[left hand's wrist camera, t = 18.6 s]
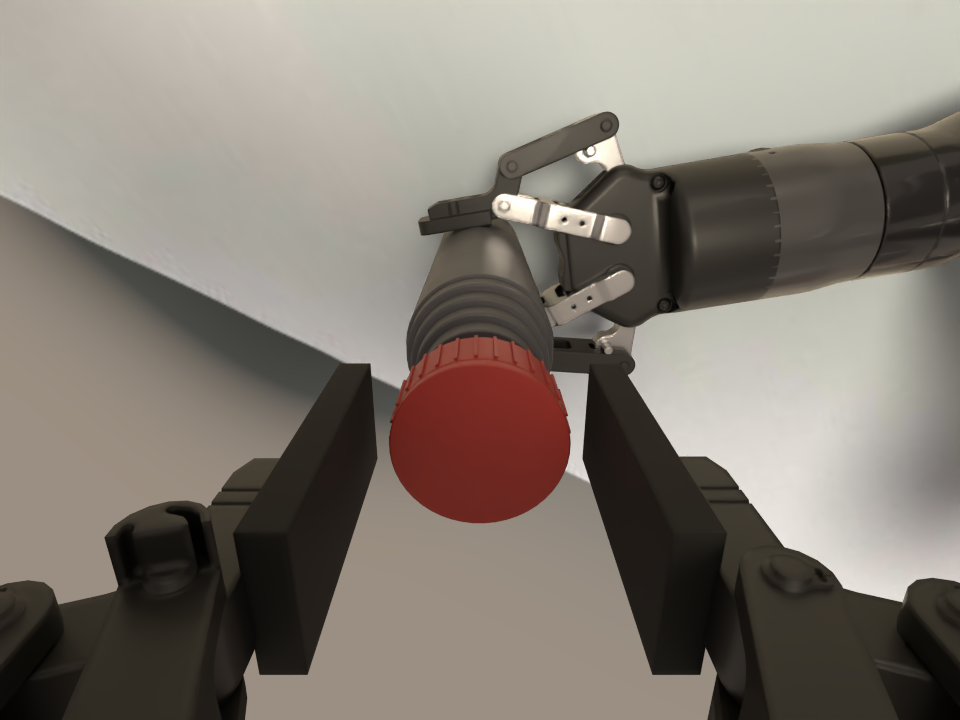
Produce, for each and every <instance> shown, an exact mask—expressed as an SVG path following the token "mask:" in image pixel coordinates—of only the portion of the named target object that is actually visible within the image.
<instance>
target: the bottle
mask: <svg viewBox="0 0 960 720" xmlns="http://www.w3.org/2000/svg"><path fill="white" fill-rule="evenodd" d="M474 335H478V337H487V338H493V336H496V337H497V339H500V340H504V341H507V342H510V343H511V341H513V342H515V345H517V346H519V347H521V348H523V349H525V350H526V351H527V349H529V350H530V351H531V354H532V355H533V356H534V357H536V358H537V359H538V360H539V361H541V360H542V361H543V362H544V365H545V368H546V369H547V371H548V372H549V373H550V370H551V366H552V361H553V344H554V341H553V332H552V327H551V323H550V321H549V318H548V315H547V313H546V310H545V308H544V305H543V303H542V300H541V297H540V295H539V292H538V290H537V287H536V284H535V282H534V279H533V277H532V274H531V272H530V269H529V266H528V264H527V261H526V259H525V256H524V254H523V251H522V248H521V246H520V243H519V241H518V238H517V235H516V233H515V231H514V229H513V228H512V226H511V225H510V224H509V223H508V222H507V221H506V220H505V219H501V218H499V219H493V220H492V225H486V226H480V227H472V228H468V229H461V230H455V231H449V232H445V234H444V236H443V239H442V241H441V244H440V246H439V249H438V251H437V254H436V257H435V259H434V262H433V264H432V267H431V269H430V272H429V275H428V277H427V280H426V282H425V285H424V287H423V290H422V292H421V295H420V298H419V300H418V303H417V305H416V308H415V310H414V313H413V315H412V318H411V321H410V323H409V327H408V331H407V340H406V343H407V361H408V367H409V370H410V371H411V368H412V366H413V365H414V366H416V365H417V364H418V363H419V362H420V361H421V360H422V359H423V356H424V354H425V353H427V355H428V354H429V353H431V352H432V351H433V350H435V349H437V348H438V346H439V345H440V344H442V345H445V344H447V343H450V342H453V341H456V338H460V339H464V338H473V337H474Z"/></svg>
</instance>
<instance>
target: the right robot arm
mask: <svg viewBox="0 0 960 720" xmlns="http://www.w3.org/2000/svg"><path fill="white" fill-rule="evenodd" d="M618 128H619V121H618V118H617V117H616V115H615V114H613V113H611V112H603V113H598V114H594V115H592V116H589V117H587V118H585V119H583V120H580V121H578V122H576V123H573V124H571V125H569V126H567V127H564V128H562V129H560V130H557V131H555V132H553V133H551V134H548V135H546V136H544V137H541V138H539V139H537V140H535V141H532V142H530V143H528V144H525V145H523V146H521V147H519V148H516V149H514V150H512V151H509V152H507V153H505V154H503V155H502V156H501V157H500V159H499V162H498V169H497V174H496V179H495V183H494V186H493V187H492V189H491V190H490V191H488V192H487V193H484V194H479V195H473V196H467V197H461V198H456V199H450V200H444V201H438V202H437V203H435V204H434V205H432V206H431V207H430V208H429V209H428V213H429V216H427V217H423V218H421V219H420V220H419V221H418V223H419V228H420V233H421V235H431V234H437V233H443V232H449V231H455V230H461V229H468V228H472V227H480V226H486V225H492V220H493V219H499V218H501V219H506V220H511V221H516V222H520V223H525V224H530V225H534V226H537V227H540V228H544V229H549V230H553V232H554V240H555V243H556V246H557V248H558V251H559V253H560V259H559V266H558V275H559V282H558V283H557V284H555V285H553V286H551V287H549V288H548V289H546V290H544V291H543V292H542V293H541V294H540V297H541V300H542V303H543V305H544V308H545V310H546V313H547V315H548V318H549V321H550V323H551V327H554V326H561V325H564V324H566V323H568V322H569V321H571V320H573V319H575V318H577V317H579V316H581V315H583V314H584V313H586V312H588V311H592V312H594V313H596V314H598V315H600V316H602V317H604V318H606V319H608V320H610V321H612V322H614V323H615V324H614V326H613V327H612V328H611V329H609V330H606V331H600V332H597V333H596V334H595V335H594V336H593V339H579V338H563V337H553V341H554V344H553V361H552V366H551V370H550V371H555V372H571V373H587V374H589V366H590V364H621V366H622V367H623V369H624V371H625V372H626V374H627V375H628V374H630V373H631V372H632V371H633V370H634V368H635V361H634V360H633V358H632V356H631V350H632V344H633V338H634V333H635V327H636V326H639V325H641V324H643V323H644V322H645V321H647V320H648V319H650V318H652V317H654V316H656V315H659V314H664V313H674V312H681V311H688V310H694V309H701V308H707V307H714V306H720V305H727V304H733V303H740V302H746V301H753V300H759V299H765V298H772V297H778V296H785V295H791V294H798V293H803V292H808V291H812V290H815V289H819V288H822V287H826V286H829V285H832V284H836V283H840V282H845V281H849V280H857V279H863V278H870V277H876V276H883V275H889V274H896V273H901V272H908V271H914V270H919V269H925V268H929V267H933V266H937V265H941V264H944V263H946V262H949V261H951V260H953V259H955V258H957V257H959V256H960V111H959V112H957V113H954V114H952V115H950V116H948V117H946V118H944V119H942V120H940V121H938V122H936V123H933V124H931V125H929V126H927V127H924V128H921V129H918V130H913V131H906V132H898V133H892V134H886V135H880V136H874V137H868V138H862V139H856V140H850V141H844V142H838V143H826V144H799V145H791V146H784V147H779V148H772V149H771V148H759V149H754V150H751V151H749V152H748V153H742V154H736V155H731V156H725V157H719V158H713V159H707V160H701V161H695V162H689V163H684V164H678V165H672V166H666V167H660V168H654V169H639V168H636V167H634V166H631V165H626V164H624V160H623V157H622V154H621V151H620V147H619V144H618V141H617V137H616V133H617V131H618ZM572 154H574V156H575V158H576V160H577V161H579V162H581V163H585V164H590V163H595V162H596V163H598V164H600V165H601V166H602V168H603V171H602V172H601V173H600V174H599V175H598V176H597V177H596V178H595V179H594V180H593V181H592V182H591V183H590V184H589V185H588V186H587V187H586V188H585V189H584V190H583V191H582V192H581V193H580V194H579V195H578V196H577V197H576V198H575V199H574V200H573V201H572V202H571V203H567V202H562V201H557V200H553V199H548V198H543V197H536V196H530V195H526V194H521V193H519V188H520V183H521V178H522V176H524V175H526V174H528V173H531V172H533V171H535V170H538V169H540V168H542V167H544V166H547V165H549V164H551V163H554V162H556V161H558V160H561V159H563V158H565V157H568V156H570V155H572ZM564 292H565V293H564ZM573 304H575V305H574V306H572V305H573Z"/></svg>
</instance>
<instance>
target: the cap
mask: <svg viewBox="0 0 960 720" xmlns="http://www.w3.org/2000/svg"><path fill="white" fill-rule="evenodd" d="M566 416H568V414H567V411H566V408H565V405H564V401H563V398H562V395H561V392H560V389H558V388H557V384H556V381H555V378H554V375H553V374H551V375H550V373H549V372H548V371H547V369H546V368H545V365H544V362H543V361H542V360H541V361H539V360H538V359H537V358H536V357H534V356H533V355H532V354H531V351H530V350H529V349H527V351H526V350H525V349H523V348H521V347H519V346H517V345H515V342H513V341H511V343H510V342H507V341H504V340H500V339H497V337H496V336H493V338H487V337H478V335H474V337H473V338H464V339H460V338H456V341H453V342H450V343H447V344H445V345H442V344H440V345H439V346H438V348H437V349H435V350H433V351H432V352H431V353H429V354H428V355H427V353H425V354H424V356H423V359H422V360H421V361H420V362H419V363H418V364H417V365H416V366H414V365H413V366H412V368H411V371H410V374H409V377H408V378H407V380H404V381H403V383H402V386H401V390H400V393H399V396H398V399H397V402H396V405H395V408H394V411H393V414H392V417H391V421H390V423H392V426H391V430H390V436H389V447H390V456H391V461H392V464H393V467H394V470H395V472H396V474H397V476H398V478H399V480H400V482H401V483H402V485H403V486H404V487H405V489H406V490H407V491H408V492H409V493H410V495H411V496H412V497H413V498H414V499H416V500H417V501H418V502H419V503H420V504H422V505H423V506H425V507H426V508H428V509H429V510H431V511H433V512H435V513H437V514H439V515H441V516H444V517H446V518H449V519H453V520H457V521H461V522H469V523H491V522H498V521H503V520H507V519H510V518H513V517H516V516H519V515H521V514H523V513H525V512H527V511H529V510H530V509H532V508H534V507H535V506H537V505H538V504H539V503H541V502H542V501H543V500H544V499H545V498H546V497H547V496H548V495H549V494H550V493H551V492H552V491H553V490H554V488H555V487H556V486H557V484H558V483H559V481H560V479H561V478H562V476H563V474H564V472H565V469H566V466H567V464H568V459H569V455H570V444H571V443H570V433H571V431H570V427H569V424H568V421H567V418H566Z"/></svg>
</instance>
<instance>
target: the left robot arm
mask: <svg viewBox="0 0 960 720" xmlns="http://www.w3.org/2000/svg"><path fill="white" fill-rule="evenodd" d="M376 461H377V446H376V433H375V420H374V407H373V393H372V380H371V366H370V364H339V366H338V368H337V369H336V371H335V372H334V374H333V375H332V377H331V379H330V380H329V382H328V383H327V385H326V386H325V388H324V390H323V391H322V393H321V394H320V396H319V397H318V399H317V401H316V402H315V404H314V405H313V407H312V409H311V410H310V412H309V413H308V415H307V416H306V418H305V420H304V421H303V423H302V424H301V426H300V428H299V429H298V431H297V432H296V434H295V435H294V437H293V439H292V440H291V442H290V443H289V445H288V447H287V448H286V450H285V451H284V453H283V454H282V456H281V458H254V459H253V460H251V461H250V462H248V463H247V464H245V465H244V466H242V467H241V468H239V469H238V470H236V471H235V472H234V473H233V474H232V475H231V477H230V478H229V479H228V481H227V482H226V483H225V485H224V486H223V487H222V491H221V492H219V493H218V494H217V495H216V497H215V498H214V499H213V501H212V504H211V506H208V507H207V508H206V507H205V506H203V505H202V504H200V503H195V502H191V501H170V502H165V503H161V504H157V505H153V506H149V507H147V508H144V509H142V510H140V511H137V512H135V513H133V514H130V515H129V516H127V517H126V518H125V519H123V520H122V521H120V522H119V523H117V524H116V525H114V527H113V528H112V529H111V530H110V531H109V533H108V534H107V535H106V536H105V541H106V545H107V548H108V551H109V555H110V558H111V562H112V565H113V569H114V572H115V575H116V579H117V582H118V588H117V591H115V592H111V593H108V594H104V595H100V596H95V597H91V598H86V599H82V600H77V601H73V602H69V603H64V604H59V605H58V603H57V600H56V597H55V594H54V591H53V589H52V588H50V587H49V586H48V585H47V584H45V583H44V582H36V581H29V580H27V581H21V582H14V583H7V584H4V585H1V586H0V720H245V713H246V704H247V693H246V686H245V681H244V676H243V674H244V672H245V670H246V668H247V665H248V663H249V661H250V659H251V656H252V654H253V652H254V650H255V653H256V658H257V663H258V668H259V674H260V675H307V674H308V672H309V668H310V665H311V662H312V659H313V656H314V653H315V650H316V647H317V644H318V641H319V637H320V634H321V631H322V628H323V625H324V622H325V619H326V616H327V613H328V610H329V607H330V603H331V600H332V597H333V594H334V591H335V588H336V585H337V582H338V579H339V576H340V573H341V570H342V566H343V563H344V560H345V557H346V554H347V551H348V548H349V545H350V542H351V539H352V535H353V533H354V529H355V526H356V523H357V520H358V517H359V514H360V511H361V508H362V505H363V502H364V499H365V495H366V492H367V489H368V486H369V483H370V480H371V477H372V474H373V471H374V467H375V465H376ZM583 462H584V465H585V468H586V471H587V474H588V477H589V480H590V483H591V486H592V489H593V492H594V496H595V499H596V502H597V505H598V508H599V511H600V514H601V517H602V520H603V523H604V526H605V529H606V532H607V536H608V539H609V542H610V545H611V548H612V551H613V554H614V557H615V560H616V563H617V566H618V570H619V573H620V576H621V579H622V582H623V585H624V588H625V591H626V594H627V597H628V600H629V604H630V607H631V610H632V613H633V616H634V619H635V622H636V625H637V628H638V631H639V634H640V638H641V641H642V644H643V647H644V650H645V653H646V656H647V659H648V662H649V665H650V668H651V671H652V674H653V675H700V674H701V668H702V663H703V658H704V653H705V647H706V649H707V651H708V654H709V656H710V658H711V660H712V663H713V665H714V667H715V669H716V671H717V676H716V681H715V686H714V691H713V696H712V700H711V705H710V710H709V715H708V720H960V583H958V582H955V581H950V580H943V579H937V578H928V579H921V580H916V581H915V582H914V583H912V584H911V585H910V586H909V587H908V588H907V591H906V594H905V597H904V600H903V602H898V601H894V600H889V599H885V598H880V597H876V596H871V595H867V594H862V593H858V592H854V591H850V590H847V589H843V587H842V585H841V584H840V582H839V581H838V579H837V578H836V576H835V575H834V574H833V572H832V571H830V570H829V569H828V568H826V567H825V566H824V565H823V564H821V563H820V562H819V561H818V560H816V559H814V558H812V557H809V556H807V555H805V554H803V553H801V552H799V551H796V550H792V549H788V548H785V547H784V546H783V545H782V544H781V542H780V541H779V540H778V538H777V537H776V536H775V534H774V533H773V532H772V530H771V529H770V528H769V526H768V525H767V524H766V522H765V521H764V520H763V518H762V517H761V516H760V514H759V513H758V512H757V510H756V509H755V508H754V506H753V505H752V504H749V500H748V498H747V497H746V496H745V494H744V493H743V492H742V490H739V486H738V485H737V484H736V482H735V481H734V480H733V478H732V477H731V476H730V474H729V473H728V472H727V470H725V469H724V468H722V467H721V466H719V465H718V464H716V463H715V462H713V461H712V460H710V459H709V458H707V457H679V456H678V454H677V453H676V451H675V450H674V448H673V447H672V445H671V443H670V442H669V440H668V439H667V437H666V435H665V434H664V432H663V431H662V429H661V428H660V426H659V424H658V423H657V421H656V420H655V418H654V416H653V415H652V413H651V412H650V410H649V409H648V407H647V405H646V404H645V402H644V401H643V399H642V397H641V396H640V394H639V393H638V391H637V390H636V388H635V386H634V385H633V383H632V382H631V380H630V379H629V377H628V375H627V374H626V372H625V371H624V369H623V367H622V366H621V364H590V366H589V379H588V393H587V406H586V420H585V433H584V446H583Z"/></svg>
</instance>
